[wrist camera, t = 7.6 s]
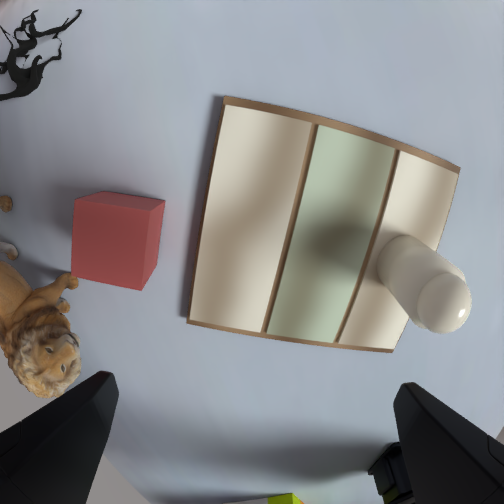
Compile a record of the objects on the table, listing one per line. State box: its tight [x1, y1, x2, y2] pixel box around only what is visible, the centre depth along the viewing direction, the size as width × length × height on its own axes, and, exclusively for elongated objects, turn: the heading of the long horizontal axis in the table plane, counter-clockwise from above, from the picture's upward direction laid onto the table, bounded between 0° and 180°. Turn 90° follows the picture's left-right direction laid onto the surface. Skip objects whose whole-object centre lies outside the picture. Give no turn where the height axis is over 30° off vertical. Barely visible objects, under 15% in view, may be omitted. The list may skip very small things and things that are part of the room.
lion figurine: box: [0, 196, 81, 398], centre depth 15 cm, size 15×5×9 cm, turn 50°
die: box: [71, 191, 165, 291], centre depth 16 cm, size 4×4×4 cm
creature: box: [0, 9, 82, 101], centre depth 11 cm, size 8×5×8 cm
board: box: [186, 96, 460, 353], centre depth 18 cm, size 15×14×1 cm
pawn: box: [377, 235, 472, 334], centre depth 15 cm, size 4×4×7 cm
